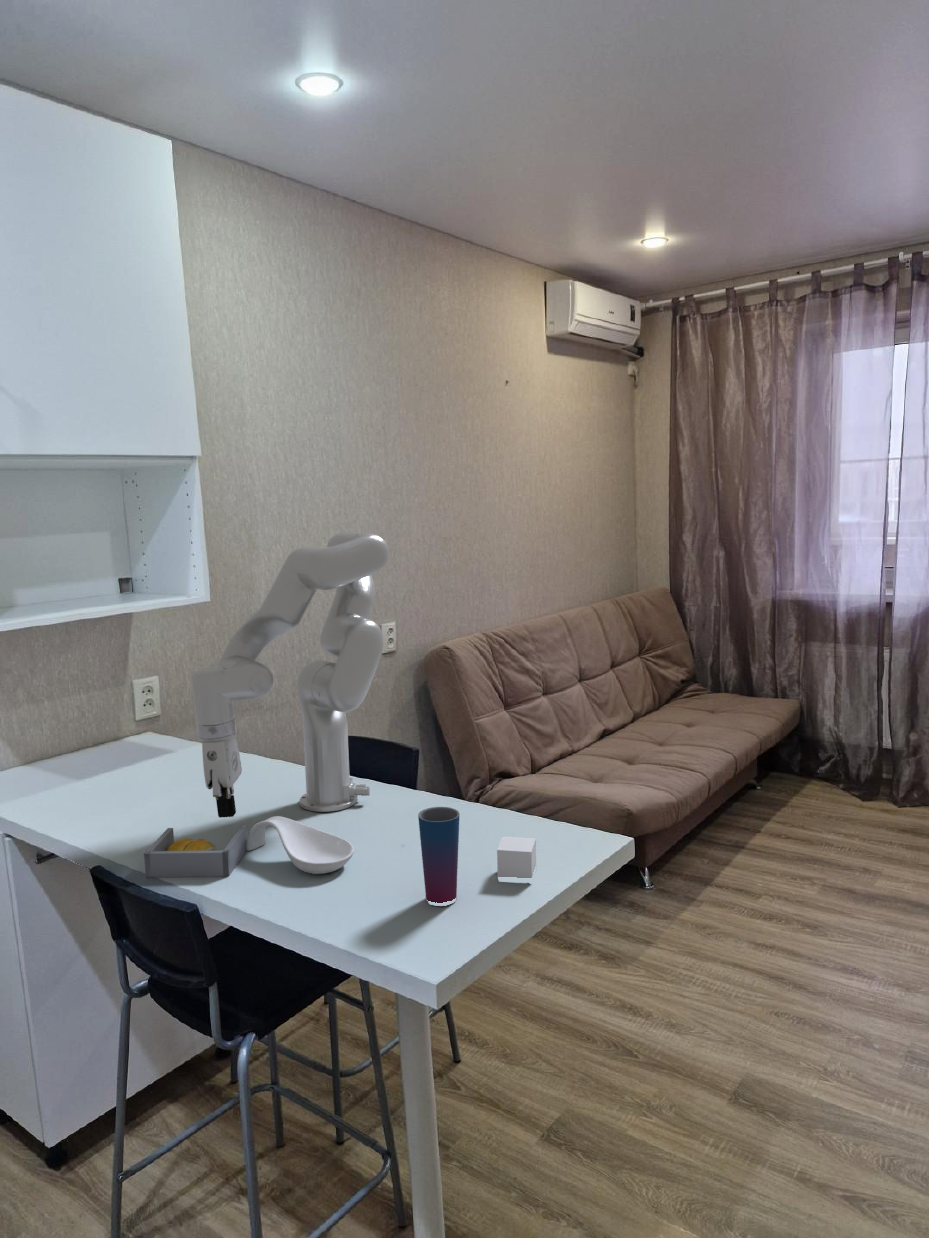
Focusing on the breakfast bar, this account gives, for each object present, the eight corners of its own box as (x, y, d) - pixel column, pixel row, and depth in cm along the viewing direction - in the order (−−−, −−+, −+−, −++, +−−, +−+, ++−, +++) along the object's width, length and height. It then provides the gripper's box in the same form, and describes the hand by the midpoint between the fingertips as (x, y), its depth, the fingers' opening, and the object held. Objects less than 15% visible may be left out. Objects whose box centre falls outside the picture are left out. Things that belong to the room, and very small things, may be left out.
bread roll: (182, 849, 170) (181, 830, 169) (222, 854, 167) (221, 834, 166) (155, 867, 162) (153, 846, 161) (197, 872, 159) (195, 851, 159)
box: (246, 849, 169) (245, 826, 168) (229, 876, 157) (227, 852, 156) (169, 850, 169) (167, 827, 168) (146, 877, 157) (144, 853, 157)
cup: (461, 890, 150) (459, 805, 147) (462, 908, 143) (460, 820, 141) (421, 891, 149) (418, 807, 147) (420, 910, 143) (417, 822, 140)
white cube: (536, 870, 157) (536, 838, 156) (531, 885, 151) (531, 851, 150) (502, 867, 158) (502, 836, 157) (497, 882, 152) (497, 849, 152)
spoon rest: (367, 863, 162) (365, 826, 161) (324, 888, 152) (322, 848, 151) (275, 838, 175) (273, 803, 174) (229, 859, 165) (227, 823, 164)
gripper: (224, 739, 167) (235, 829, 171) (245, 716, 182) (254, 800, 185) (185, 742, 167) (197, 832, 171) (209, 718, 182) (219, 802, 185)
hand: (227, 815), depth 178 cm, fingers closed
